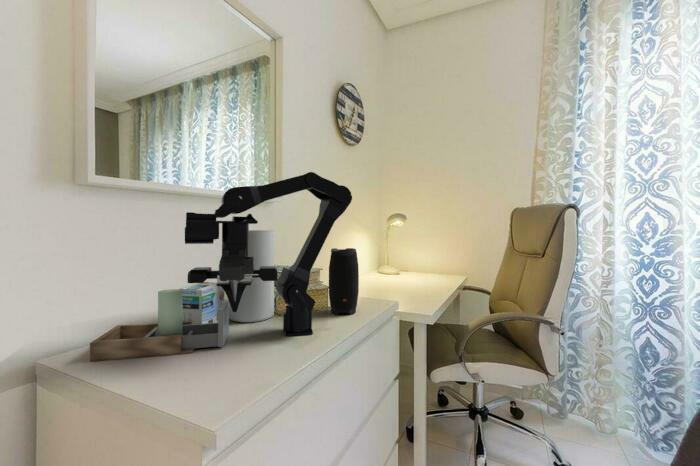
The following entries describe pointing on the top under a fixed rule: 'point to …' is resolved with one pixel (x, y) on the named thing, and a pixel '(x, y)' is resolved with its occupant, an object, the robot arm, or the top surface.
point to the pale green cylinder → (170, 312)
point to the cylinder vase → (257, 281)
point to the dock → (135, 343)
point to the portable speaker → (343, 280)
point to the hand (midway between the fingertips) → (234, 311)
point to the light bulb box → (202, 302)
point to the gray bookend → (204, 331)
